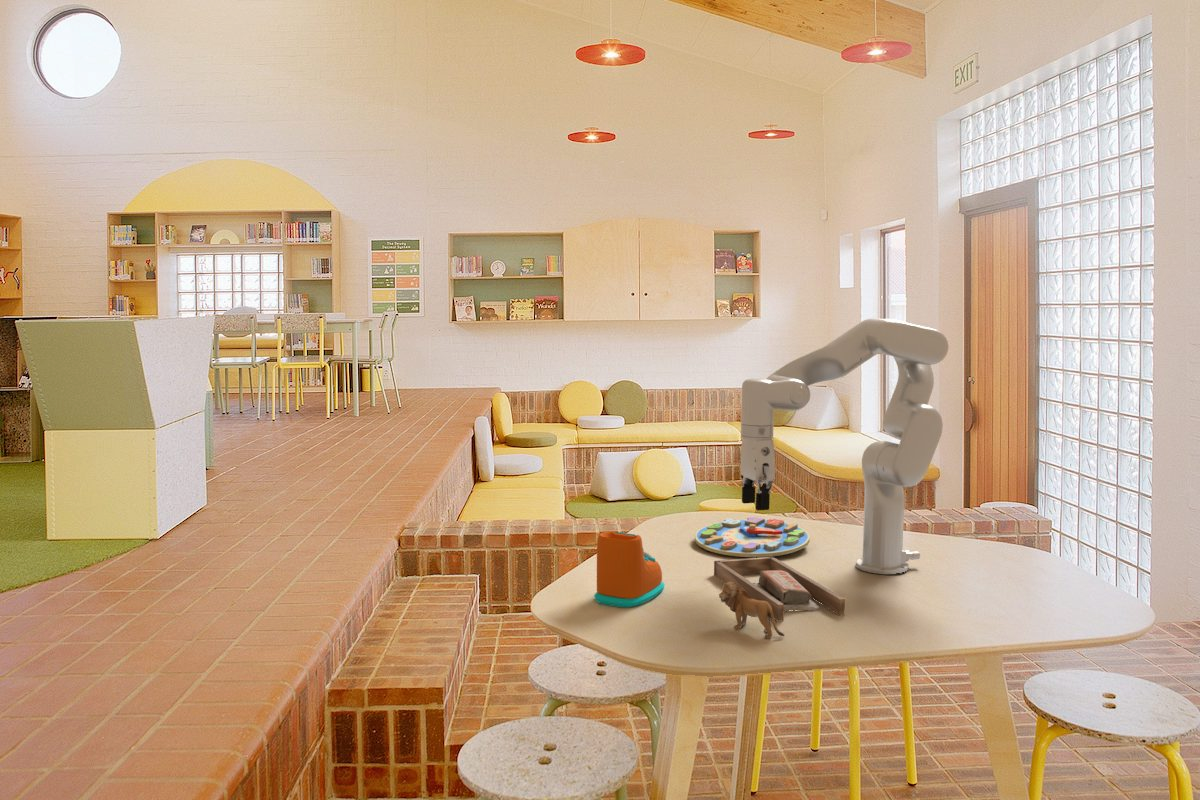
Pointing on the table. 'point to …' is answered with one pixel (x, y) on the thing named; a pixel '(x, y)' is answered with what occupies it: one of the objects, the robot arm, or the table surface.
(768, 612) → the lion figurine
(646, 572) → the toy shoe
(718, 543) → the shape sorting clock
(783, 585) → the packaged product
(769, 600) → the open-ended wooden frame
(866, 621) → the table surface
